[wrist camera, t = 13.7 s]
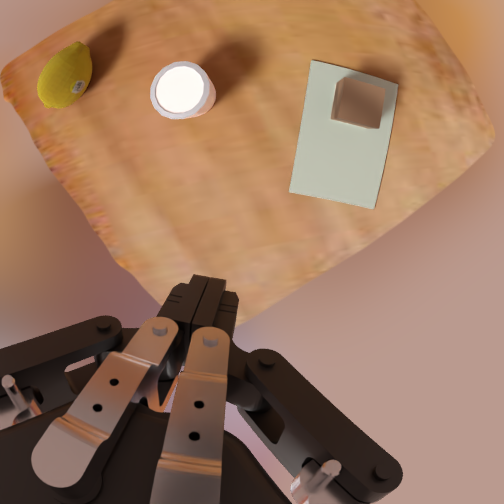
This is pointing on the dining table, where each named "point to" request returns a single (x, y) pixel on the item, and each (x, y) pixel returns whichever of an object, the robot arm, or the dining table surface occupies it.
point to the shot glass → (182, 91)
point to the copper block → (358, 103)
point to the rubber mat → (340, 142)
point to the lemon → (65, 76)
